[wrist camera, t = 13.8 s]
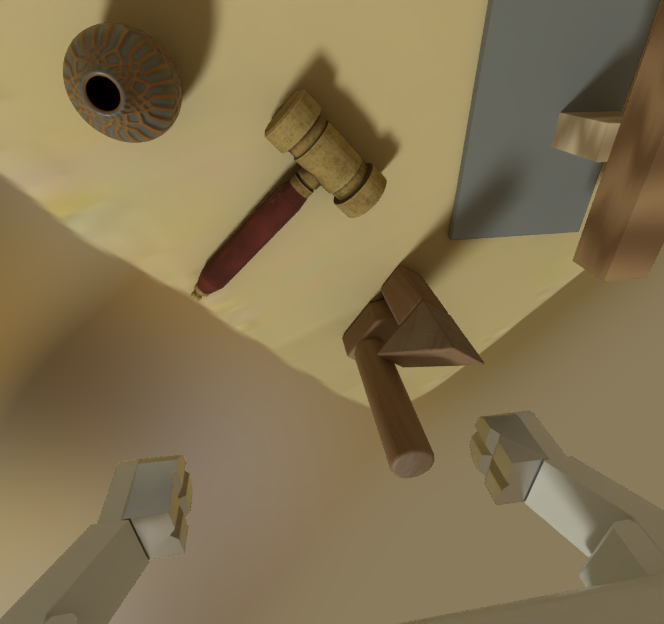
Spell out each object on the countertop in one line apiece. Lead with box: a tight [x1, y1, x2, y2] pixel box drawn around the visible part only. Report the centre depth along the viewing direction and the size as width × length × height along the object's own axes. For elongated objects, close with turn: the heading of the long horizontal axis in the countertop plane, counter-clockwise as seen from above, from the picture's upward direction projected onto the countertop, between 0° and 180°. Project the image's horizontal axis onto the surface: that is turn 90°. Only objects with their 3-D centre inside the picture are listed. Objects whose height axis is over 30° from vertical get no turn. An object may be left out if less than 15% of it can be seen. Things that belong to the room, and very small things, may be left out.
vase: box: [63, 23, 182, 143], centre depth 27 cm, size 7×7×9 cm
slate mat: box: [449, 0, 661, 240], centre depth 36 cm, size 20×14×1 cm
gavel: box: [191, 89, 387, 301], centre depth 36 cm, size 21×5×10 cm
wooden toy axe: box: [342, 266, 484, 478], centre depth 37 cm, size 4×11×18 cm, turn 146°
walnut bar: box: [573, 0, 664, 282], centre depth 30 cm, size 20×4×4 cm, turn 1°
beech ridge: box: [550, 111, 624, 162], centre depth 34 cm, size 3×6×6 cm, turn 90°
